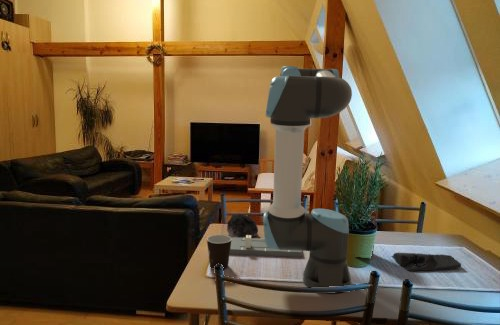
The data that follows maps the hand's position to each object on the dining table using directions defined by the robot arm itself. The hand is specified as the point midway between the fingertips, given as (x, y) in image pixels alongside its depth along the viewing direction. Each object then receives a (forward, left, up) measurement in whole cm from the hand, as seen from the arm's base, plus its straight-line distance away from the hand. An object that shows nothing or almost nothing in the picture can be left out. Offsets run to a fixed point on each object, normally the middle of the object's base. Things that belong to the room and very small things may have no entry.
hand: (286, 159), depth 150 cm
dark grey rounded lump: (0, +18, -35) cm, 39 cm away
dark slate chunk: (-23, -52, -35) cm, 67 cm away
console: (-16, +8, -34) cm, 39 cm away
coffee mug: (-32, +24, -35) cm, 53 cm away
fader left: (-20, +15, -32) cm, 40 cm away
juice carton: (-18, -30, -35) cm, 49 cm away
